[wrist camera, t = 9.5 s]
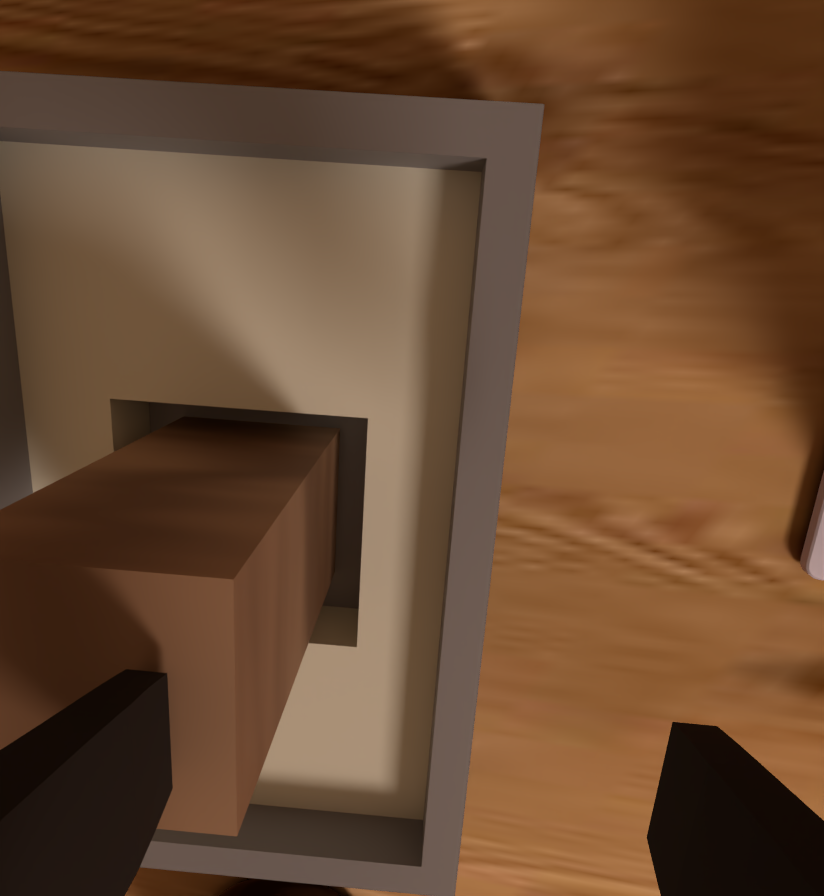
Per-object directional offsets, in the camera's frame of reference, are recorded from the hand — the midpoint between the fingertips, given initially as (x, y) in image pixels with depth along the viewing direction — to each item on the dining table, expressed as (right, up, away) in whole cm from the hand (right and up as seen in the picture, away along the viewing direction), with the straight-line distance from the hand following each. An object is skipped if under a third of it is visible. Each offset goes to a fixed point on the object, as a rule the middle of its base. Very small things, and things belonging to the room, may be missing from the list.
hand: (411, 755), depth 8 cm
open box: (-4, +3, +10) cm, 11 cm away
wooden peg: (-4, +3, +9) cm, 10 cm away
